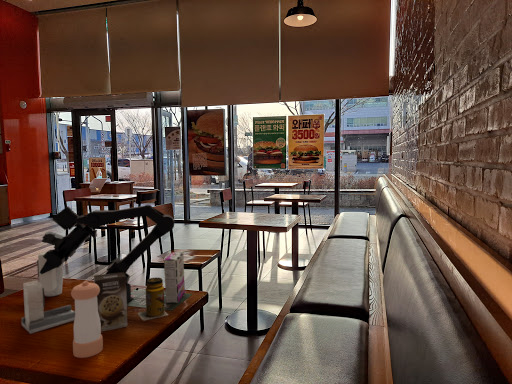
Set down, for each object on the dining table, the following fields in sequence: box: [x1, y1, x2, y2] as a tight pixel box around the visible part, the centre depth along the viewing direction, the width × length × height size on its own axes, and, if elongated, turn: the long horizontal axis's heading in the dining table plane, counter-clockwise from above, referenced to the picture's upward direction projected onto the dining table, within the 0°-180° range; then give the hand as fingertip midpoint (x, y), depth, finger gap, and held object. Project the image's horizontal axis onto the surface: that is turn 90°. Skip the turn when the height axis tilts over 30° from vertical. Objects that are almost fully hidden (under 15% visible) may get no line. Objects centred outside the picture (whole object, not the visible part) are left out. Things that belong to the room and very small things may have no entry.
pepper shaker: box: [70, 280, 104, 359], centre depth 96 cm, size 7×7×19 cm
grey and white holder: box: [21, 279, 75, 335], centre depth 115 cm, size 14×9×14 cm, turn 137°
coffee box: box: [93, 272, 128, 332], centre depth 112 cm, size 9×6×16 cm
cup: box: [44, 263, 64, 297], centre depth 142 cm, size 8×8×16 cm
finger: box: [36, 251, 57, 292], centre depth 126 cm, size 5×4×13 cm
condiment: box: [137, 277, 169, 321], centre depth 120 cm, size 7×8×12 cm
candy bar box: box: [163, 251, 186, 304], centre depth 135 cm, size 11×5×16 cm, turn 179°
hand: (43, 271), depth 126 cm, fingers closed on finger, 4 cm apart
